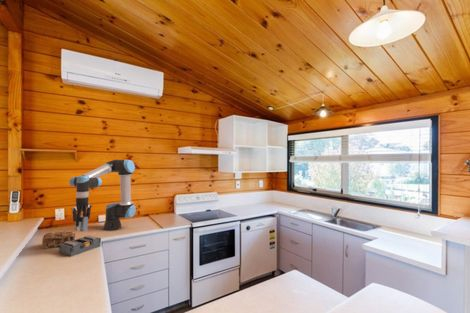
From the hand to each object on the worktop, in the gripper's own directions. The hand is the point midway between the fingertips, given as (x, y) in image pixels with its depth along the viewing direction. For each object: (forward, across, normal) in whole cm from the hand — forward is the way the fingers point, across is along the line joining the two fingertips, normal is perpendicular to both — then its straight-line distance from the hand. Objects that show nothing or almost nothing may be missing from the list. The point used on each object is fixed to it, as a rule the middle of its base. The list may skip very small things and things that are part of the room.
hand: (81, 230), depth 168 cm
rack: (+14, 0, 0) cm, 14 cm away
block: (0, 0, 0) cm, 0 cm away
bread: (+14, +2, -22) cm, 26 cm away
